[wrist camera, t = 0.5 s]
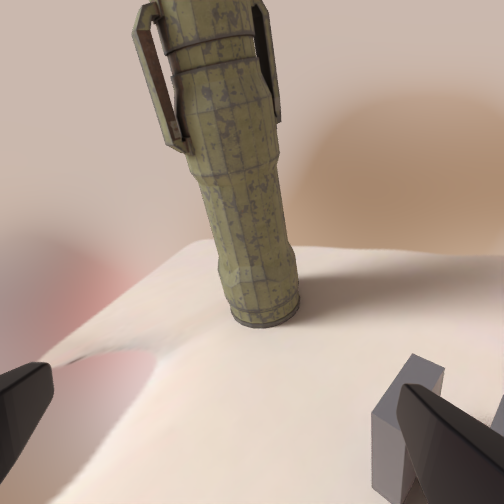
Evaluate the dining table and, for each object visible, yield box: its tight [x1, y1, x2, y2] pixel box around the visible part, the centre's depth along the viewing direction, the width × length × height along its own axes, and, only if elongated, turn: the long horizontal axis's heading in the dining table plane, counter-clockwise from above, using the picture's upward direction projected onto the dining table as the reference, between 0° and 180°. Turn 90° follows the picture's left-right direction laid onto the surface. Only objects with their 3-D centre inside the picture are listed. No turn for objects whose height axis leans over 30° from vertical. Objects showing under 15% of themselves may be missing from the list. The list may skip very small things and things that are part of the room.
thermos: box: [132, 0, 300, 328], centre depth 30 cm, size 9×12×35 cm
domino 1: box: [371, 353, 445, 504], centre depth 19 cm, size 2×5×8 cm, turn 134°
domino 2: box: [490, 395, 504, 436], centre depth 16 cm, size 2×5×8 cm, turn 133°
